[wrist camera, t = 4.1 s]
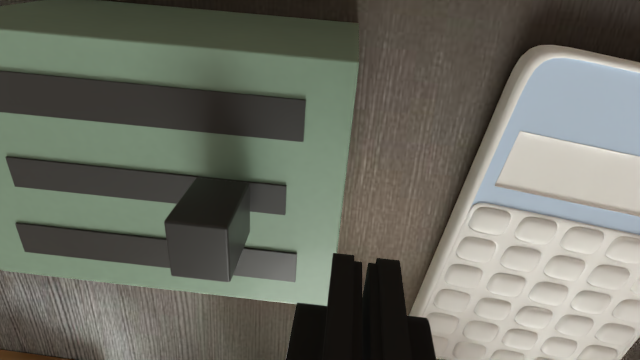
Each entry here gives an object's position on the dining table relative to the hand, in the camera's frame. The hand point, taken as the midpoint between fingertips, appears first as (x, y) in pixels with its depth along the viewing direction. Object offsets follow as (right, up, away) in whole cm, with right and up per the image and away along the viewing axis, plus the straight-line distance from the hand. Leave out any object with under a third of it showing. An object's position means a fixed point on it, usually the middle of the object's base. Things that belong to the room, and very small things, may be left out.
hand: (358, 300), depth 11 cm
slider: (-4, +3, +4) cm, 6 cm away
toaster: (-7, +7, +11) cm, 15 cm away
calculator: (+13, 0, +13) cm, 18 cm away
